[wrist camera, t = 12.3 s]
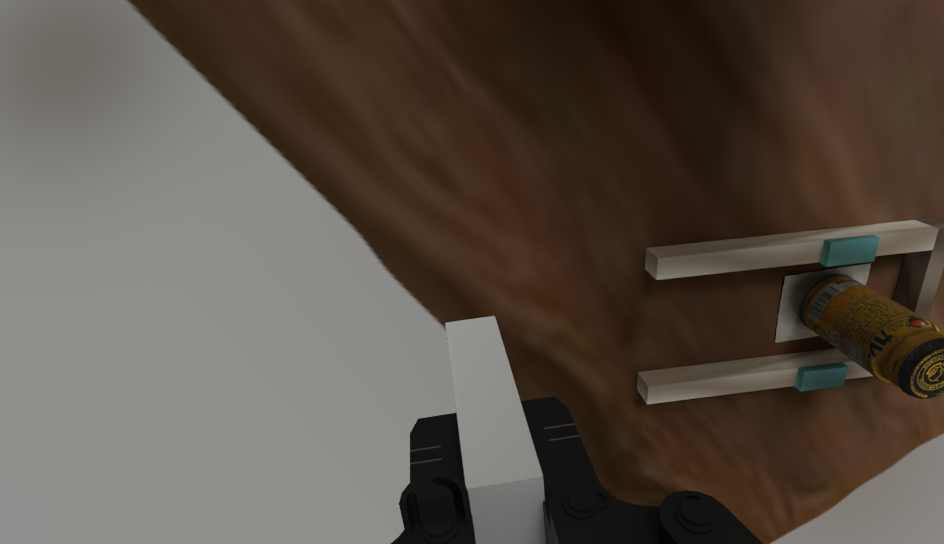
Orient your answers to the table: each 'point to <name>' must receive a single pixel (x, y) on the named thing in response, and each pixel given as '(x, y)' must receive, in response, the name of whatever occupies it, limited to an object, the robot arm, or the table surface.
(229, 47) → the table surface
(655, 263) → the rail track
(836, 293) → the condiment
